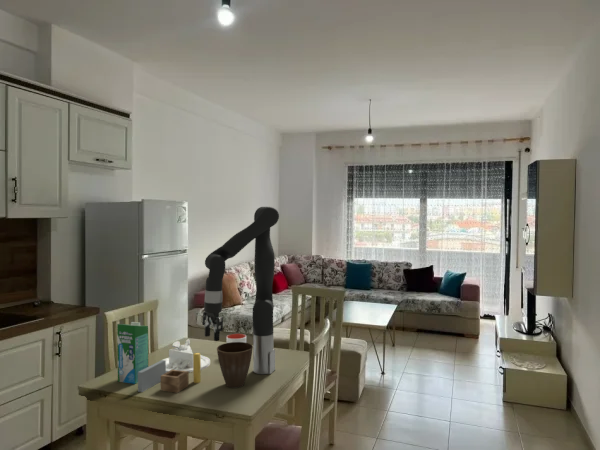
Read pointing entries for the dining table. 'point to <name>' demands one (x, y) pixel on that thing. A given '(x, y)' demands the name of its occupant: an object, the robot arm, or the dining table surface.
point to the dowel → (196, 368)
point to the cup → (236, 338)
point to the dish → (183, 358)
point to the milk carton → (131, 351)
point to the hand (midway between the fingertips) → (211, 338)
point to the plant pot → (234, 362)
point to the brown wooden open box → (174, 380)
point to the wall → (151, 375)
